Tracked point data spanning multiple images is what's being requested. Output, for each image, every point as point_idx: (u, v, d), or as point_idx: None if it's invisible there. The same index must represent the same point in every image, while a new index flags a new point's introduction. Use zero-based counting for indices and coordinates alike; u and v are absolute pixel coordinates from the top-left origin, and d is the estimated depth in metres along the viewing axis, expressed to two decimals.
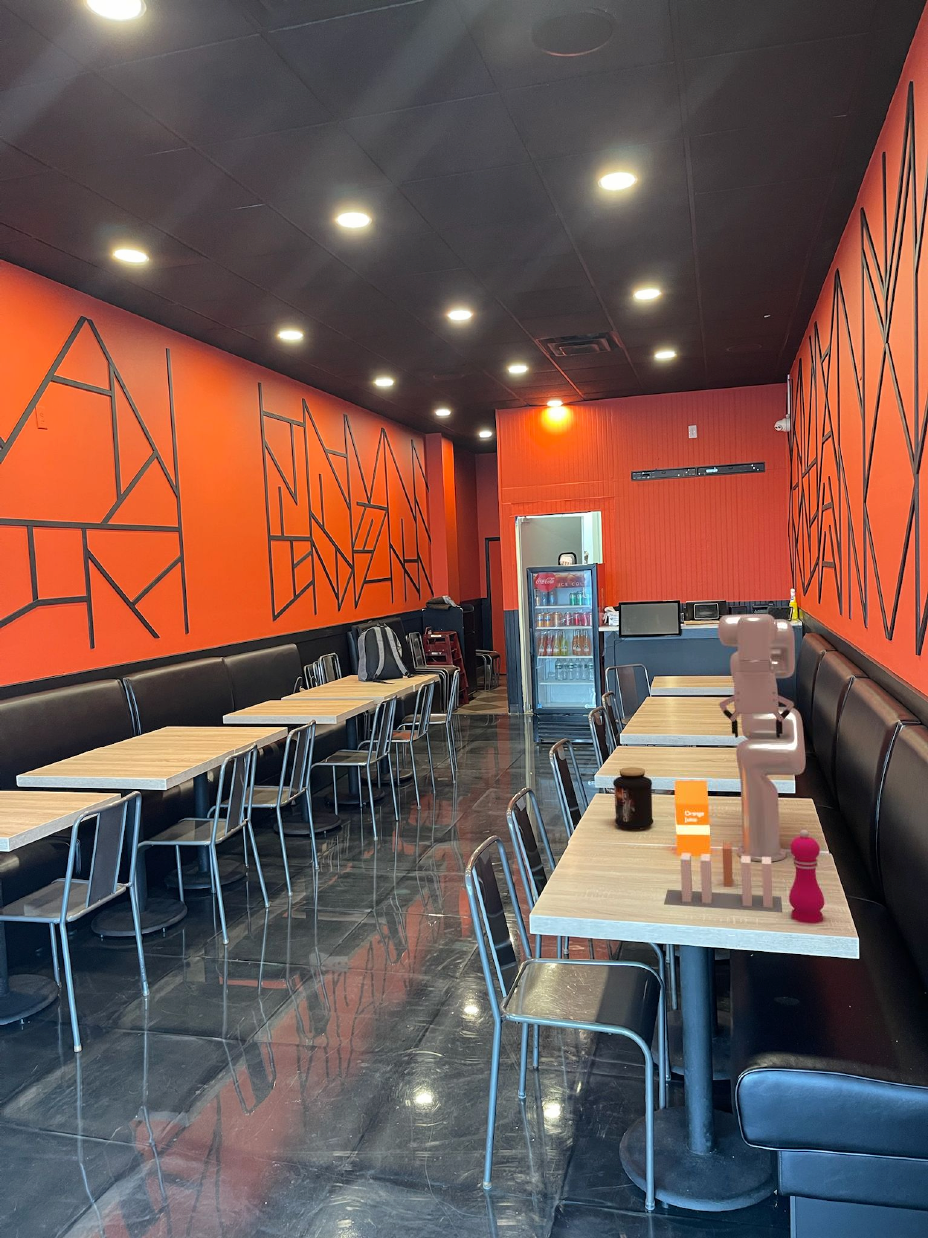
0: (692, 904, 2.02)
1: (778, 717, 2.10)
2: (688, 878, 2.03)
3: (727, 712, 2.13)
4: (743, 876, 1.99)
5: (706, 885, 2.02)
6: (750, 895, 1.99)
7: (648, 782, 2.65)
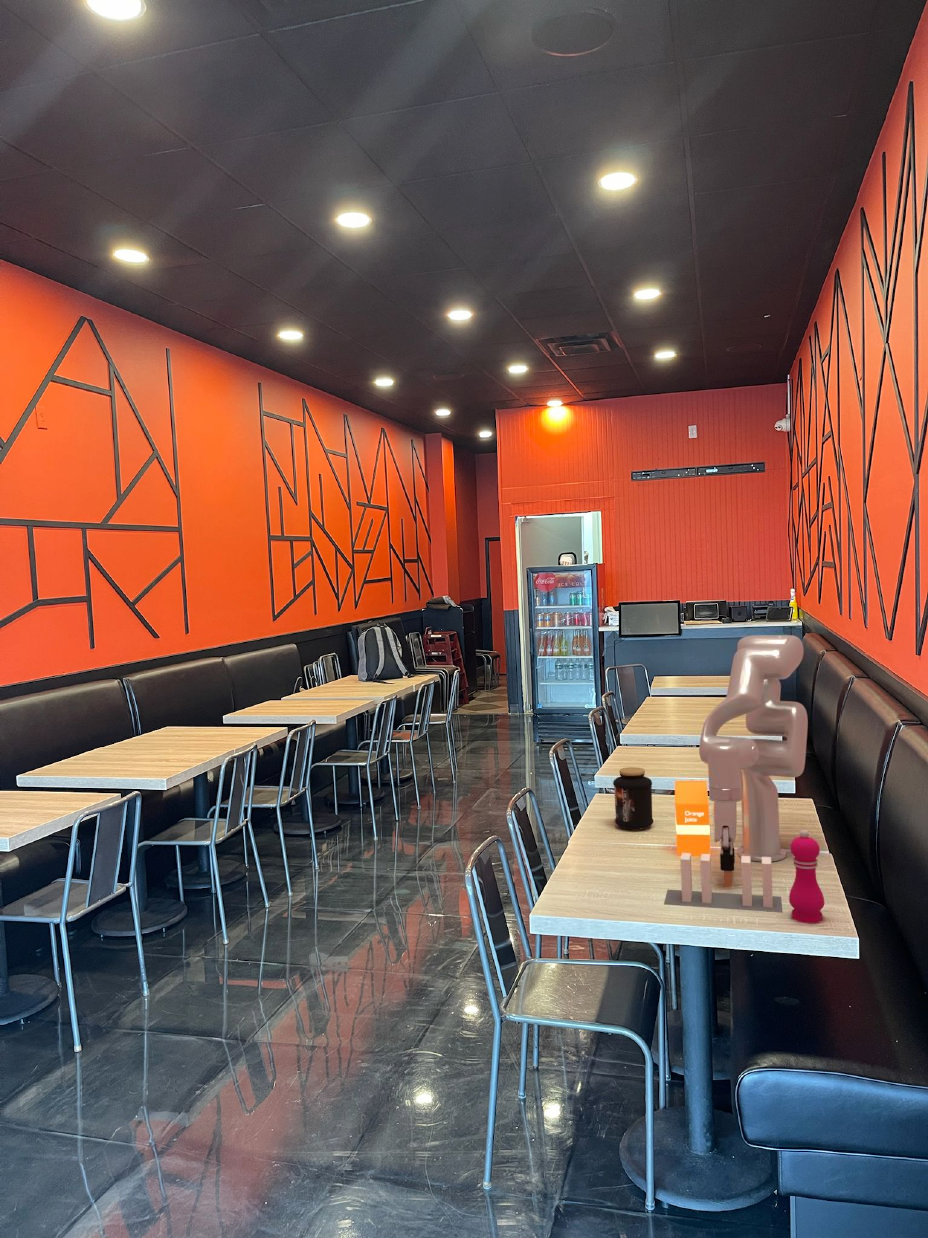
0: (692, 904, 2.02)
1: None
2: (688, 878, 2.03)
3: None
4: (743, 876, 1.99)
5: (706, 885, 2.02)
6: (750, 895, 1.99)
7: (648, 782, 2.65)
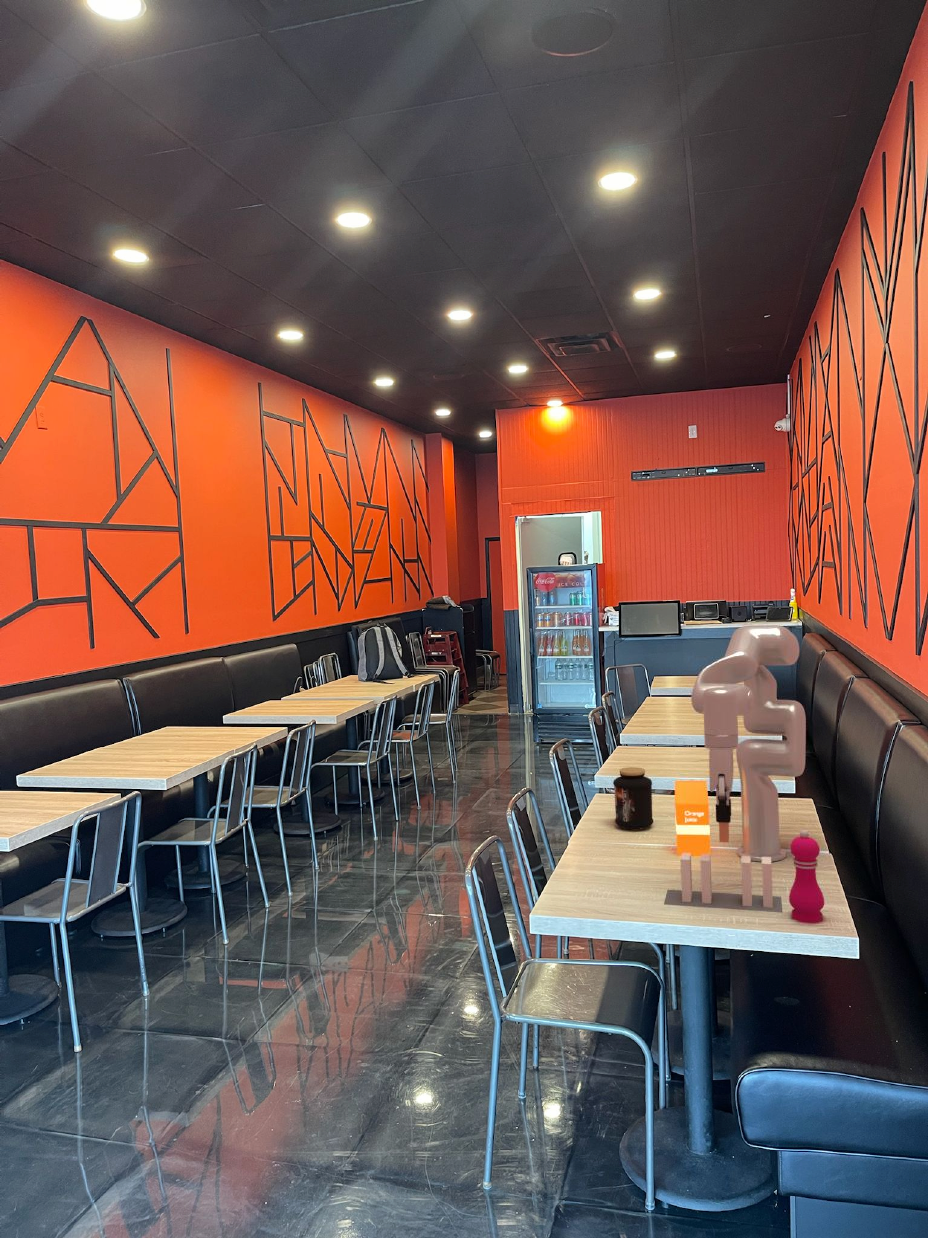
0: (692, 904, 2.02)
1: None
2: (688, 878, 2.03)
3: None
4: (743, 876, 1.99)
5: (706, 885, 2.02)
6: (750, 895, 1.99)
7: (648, 782, 2.65)
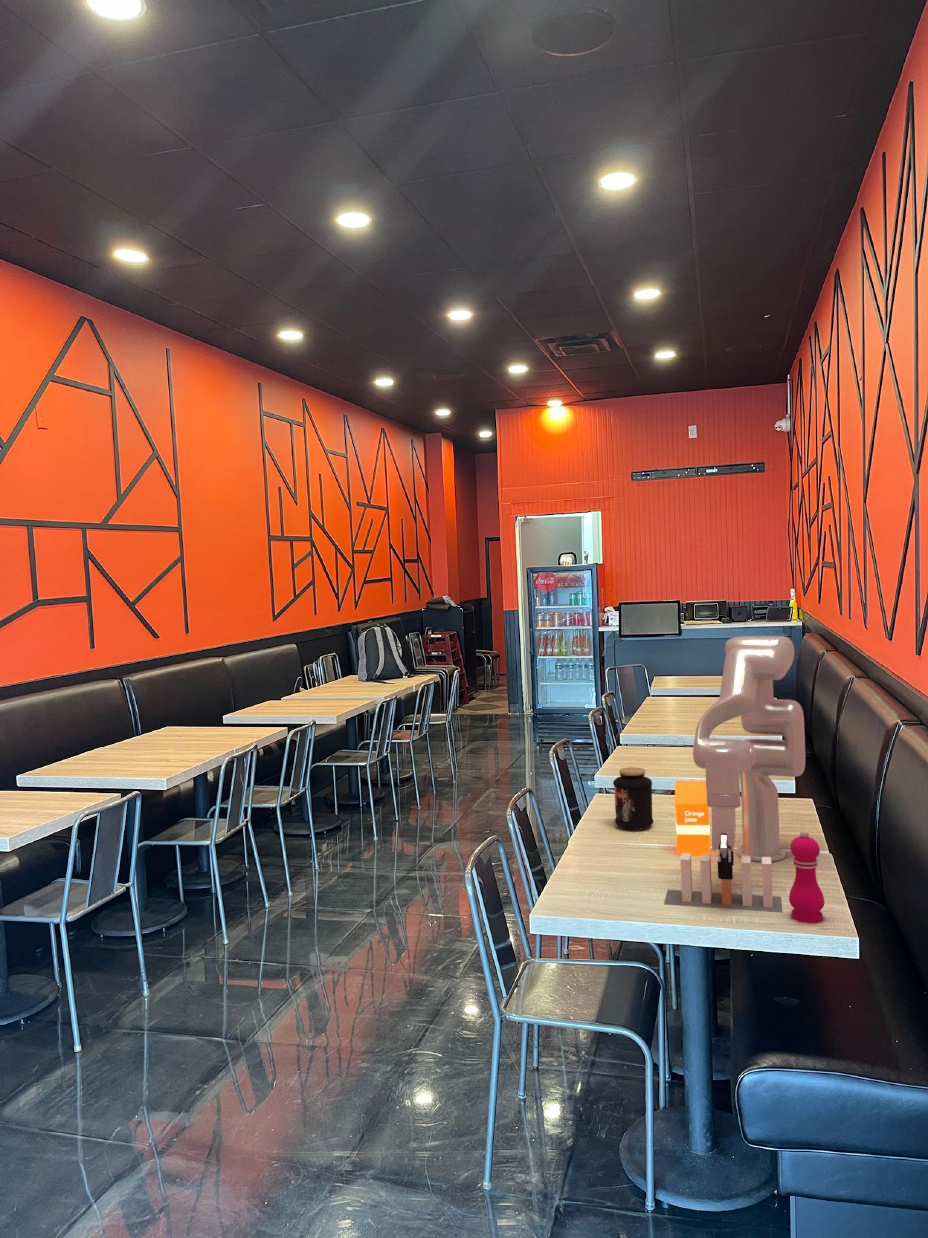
0: (692, 904, 2.02)
1: None
2: (688, 878, 2.03)
3: None
4: (743, 876, 1.99)
5: (706, 885, 2.02)
6: (750, 895, 1.99)
7: (648, 782, 2.65)
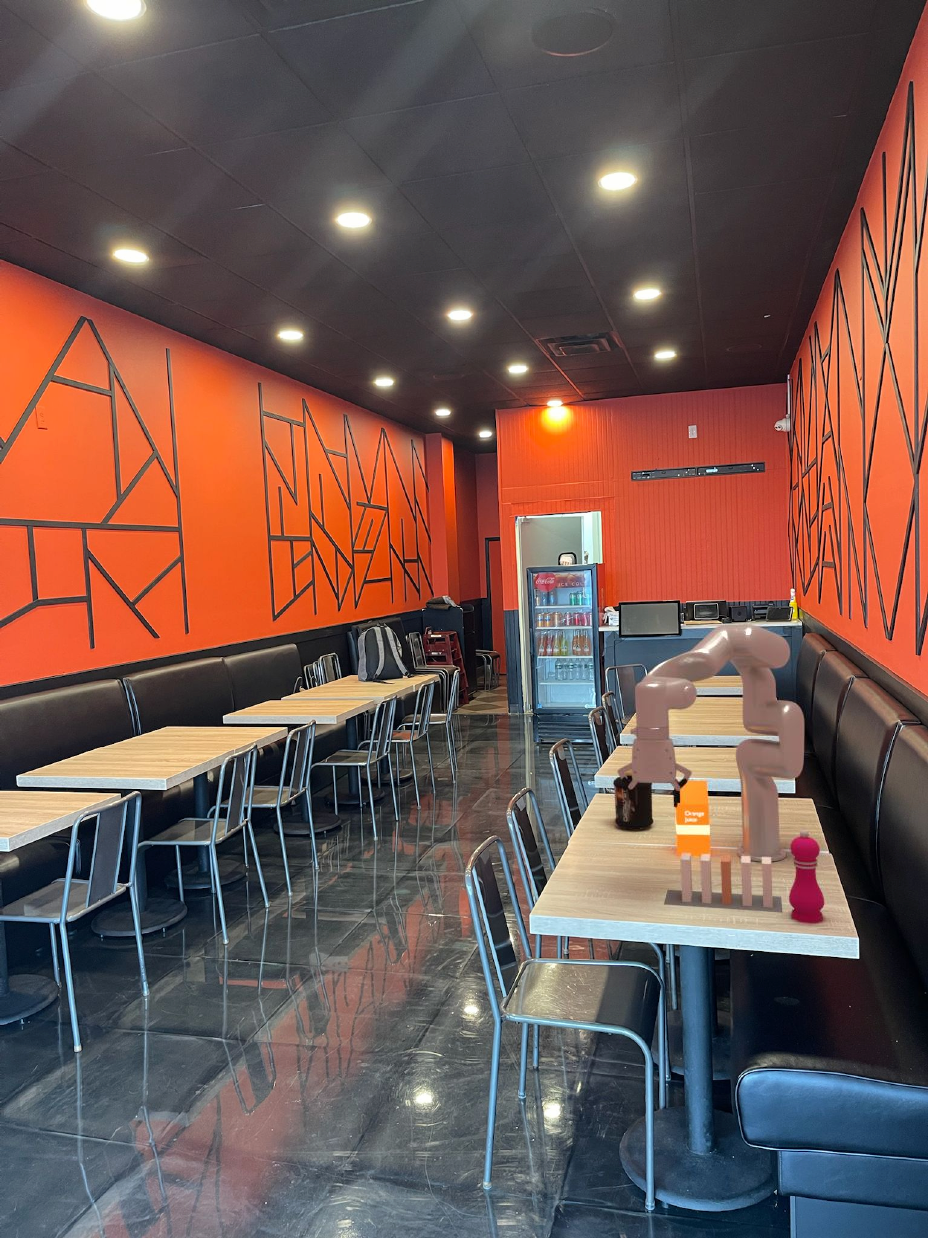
0: (692, 904, 2.02)
1: None
2: (688, 878, 2.03)
3: None
4: (743, 876, 1.99)
5: (706, 885, 2.02)
6: (750, 895, 1.99)
7: None
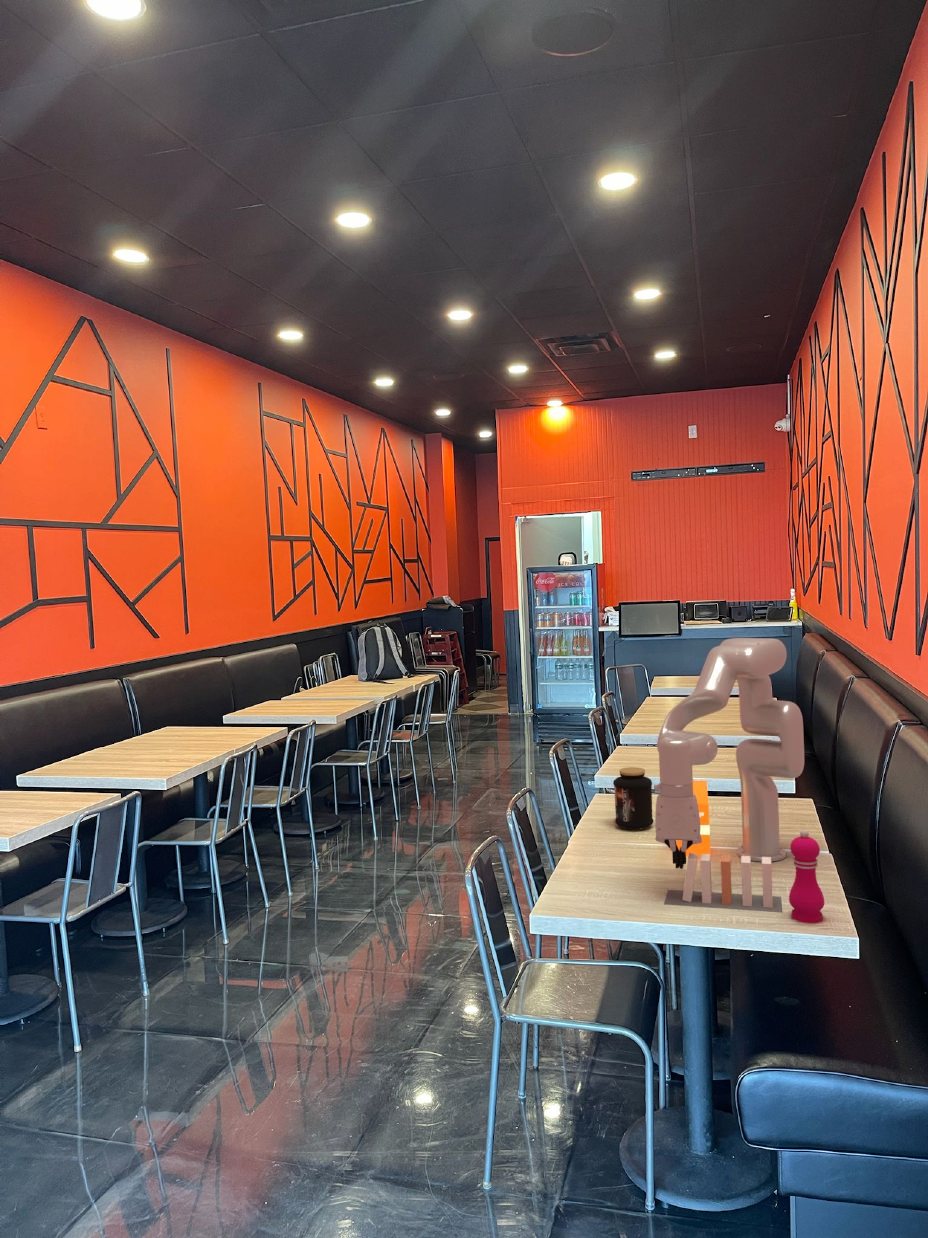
0: (692, 904, 2.02)
1: None
2: (692, 878, 2.03)
3: None
4: (743, 876, 1.99)
5: (706, 885, 2.02)
6: (750, 895, 1.99)
7: (648, 782, 2.65)
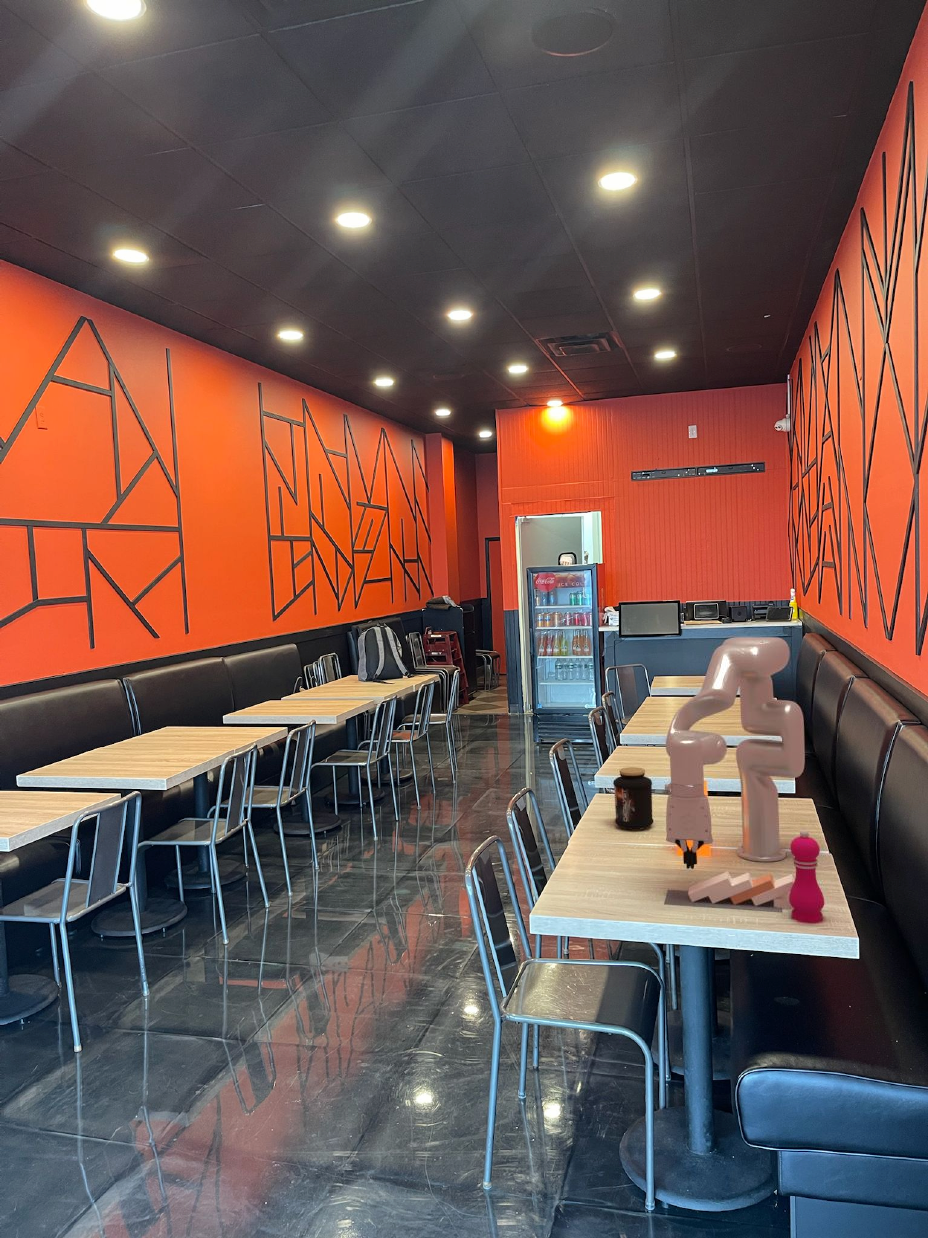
0: (692, 904, 2.02)
1: None
2: (713, 892, 2.01)
3: None
4: (780, 888, 1.97)
5: (727, 893, 2.00)
6: (765, 901, 1.98)
7: (648, 782, 2.65)
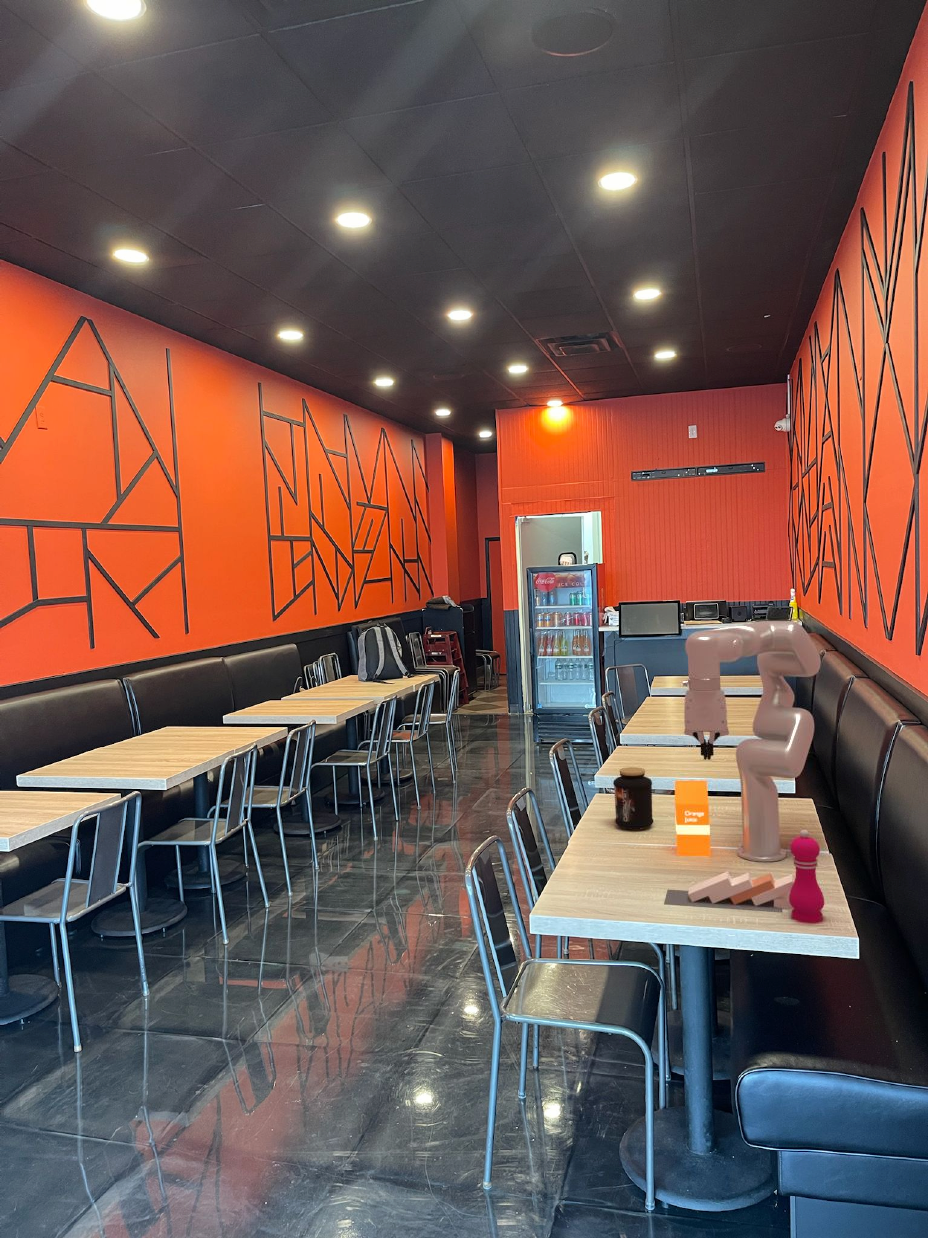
0: (692, 904, 2.02)
1: None
2: (713, 892, 2.01)
3: None
4: (780, 888, 1.97)
5: (727, 893, 2.00)
6: (765, 901, 1.98)
7: (648, 782, 2.65)
